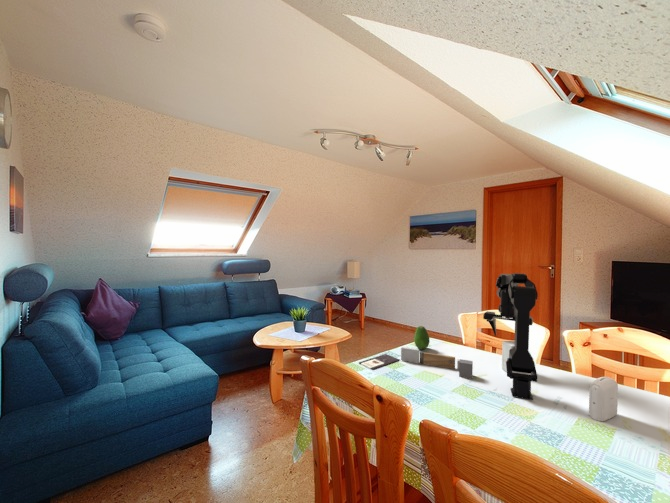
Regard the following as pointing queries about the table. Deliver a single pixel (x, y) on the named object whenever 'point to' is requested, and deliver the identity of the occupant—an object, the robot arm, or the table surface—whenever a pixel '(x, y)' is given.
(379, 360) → the chocolate bar
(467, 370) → the block
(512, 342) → the supplement box
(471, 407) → the table surface
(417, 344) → the fruit
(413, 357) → the frame
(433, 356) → the oak door
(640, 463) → the table surface
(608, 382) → the photo printer
